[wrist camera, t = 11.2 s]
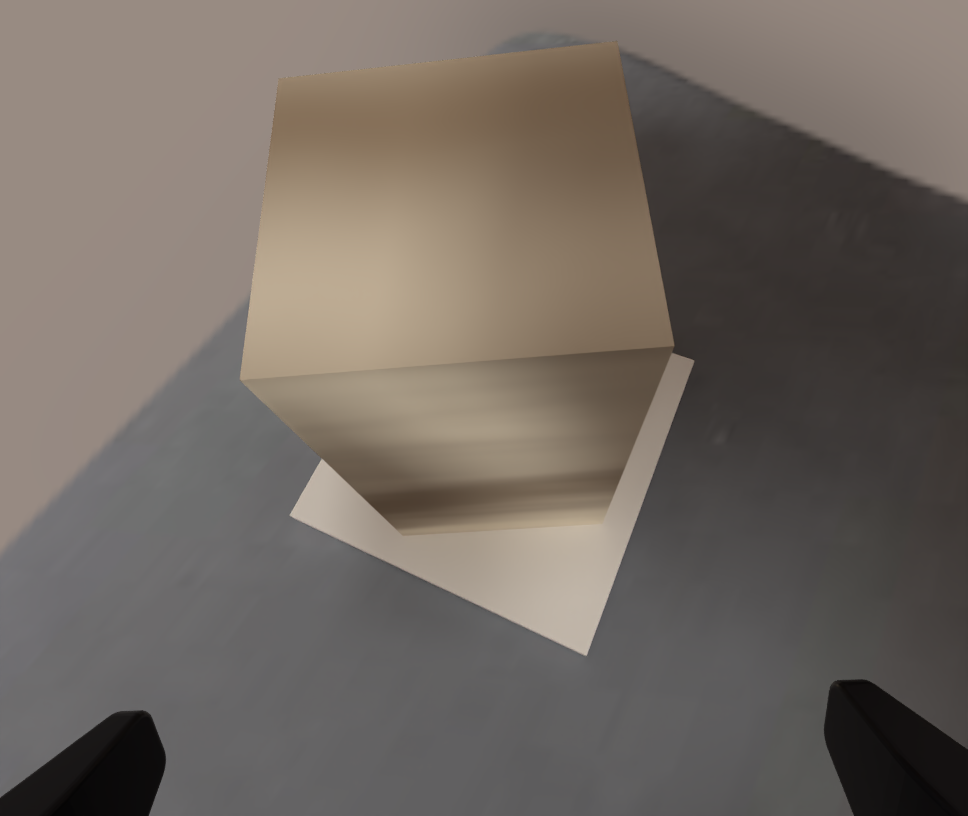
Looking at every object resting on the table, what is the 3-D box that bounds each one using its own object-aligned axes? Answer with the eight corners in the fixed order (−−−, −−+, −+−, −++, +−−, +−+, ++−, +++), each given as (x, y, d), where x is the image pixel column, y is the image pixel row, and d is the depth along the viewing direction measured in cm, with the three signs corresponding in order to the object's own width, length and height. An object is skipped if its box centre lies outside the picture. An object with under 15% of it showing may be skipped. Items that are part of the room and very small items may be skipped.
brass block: (602, 524, 17) (674, 345, 8) (403, 535, 17) (239, 379, 8) (580, 346, 19) (617, 40, 10) (404, 360, 19) (279, 78, 10)
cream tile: (690, 369, 19) (694, 360, 18) (584, 656, 16) (586, 655, 15) (431, 281, 21) (428, 271, 20) (297, 520, 18) (289, 515, 18)
